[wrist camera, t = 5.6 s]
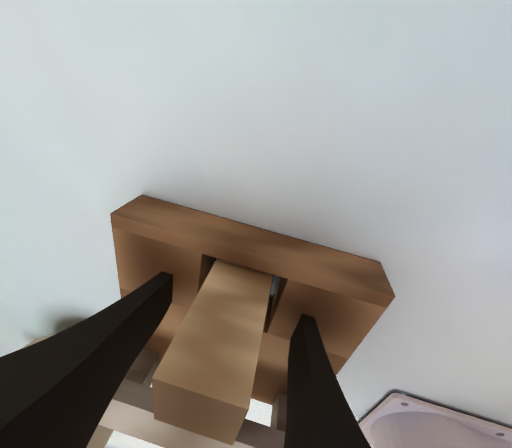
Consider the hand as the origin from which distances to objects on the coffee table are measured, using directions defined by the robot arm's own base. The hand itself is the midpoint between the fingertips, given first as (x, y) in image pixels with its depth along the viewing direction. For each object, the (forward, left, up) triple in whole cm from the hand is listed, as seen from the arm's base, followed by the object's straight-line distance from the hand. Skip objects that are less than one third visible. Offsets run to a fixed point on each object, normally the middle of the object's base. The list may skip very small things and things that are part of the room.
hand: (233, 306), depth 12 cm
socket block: (0, +4, -3) cm, 5 cm away
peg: (0, 0, -3) cm, 3 cm away
